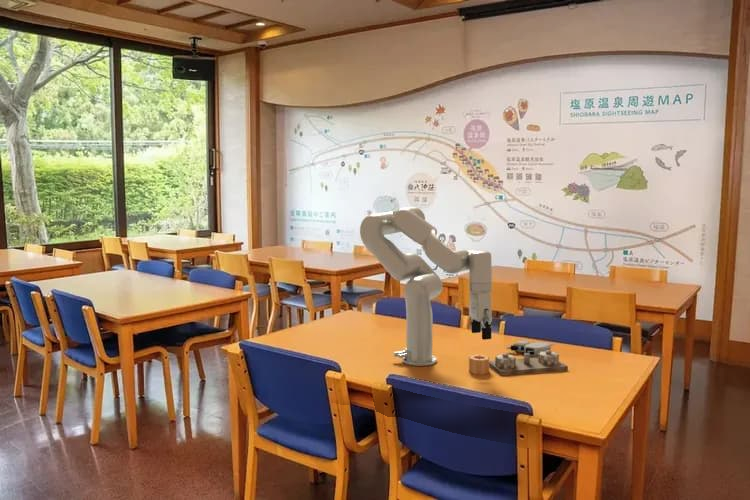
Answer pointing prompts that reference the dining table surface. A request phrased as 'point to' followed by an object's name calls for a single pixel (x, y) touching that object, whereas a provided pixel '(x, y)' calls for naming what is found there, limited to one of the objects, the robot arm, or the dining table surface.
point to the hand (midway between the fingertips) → (481, 335)
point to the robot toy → (530, 347)
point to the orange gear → (479, 364)
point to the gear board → (528, 367)
